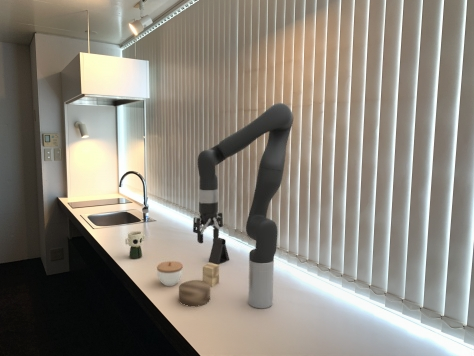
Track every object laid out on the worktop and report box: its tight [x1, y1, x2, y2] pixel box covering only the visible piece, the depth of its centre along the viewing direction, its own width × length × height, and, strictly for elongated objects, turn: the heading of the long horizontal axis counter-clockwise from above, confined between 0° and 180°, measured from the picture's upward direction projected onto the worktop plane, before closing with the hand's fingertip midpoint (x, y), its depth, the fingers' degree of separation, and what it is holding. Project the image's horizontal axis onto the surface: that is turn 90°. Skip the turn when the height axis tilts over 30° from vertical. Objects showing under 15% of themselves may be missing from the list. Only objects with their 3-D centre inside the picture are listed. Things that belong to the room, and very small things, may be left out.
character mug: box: [125, 230, 146, 259], centre depth 180 cm, size 11×7×13 cm, turn 136°
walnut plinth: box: [178, 279, 211, 307], centre depth 136 cm, size 12×12×5 cm
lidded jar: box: [156, 260, 184, 287], centre depth 150 cm, size 11×11×9 cm
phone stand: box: [208, 237, 230, 266], centre depth 176 cm, size 9×6×12 cm, turn 138°
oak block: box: [202, 262, 220, 288], centre depth 150 cm, size 5×5×8 cm
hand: (208, 240), depth 140 cm, fingers open, 8 cm apart
